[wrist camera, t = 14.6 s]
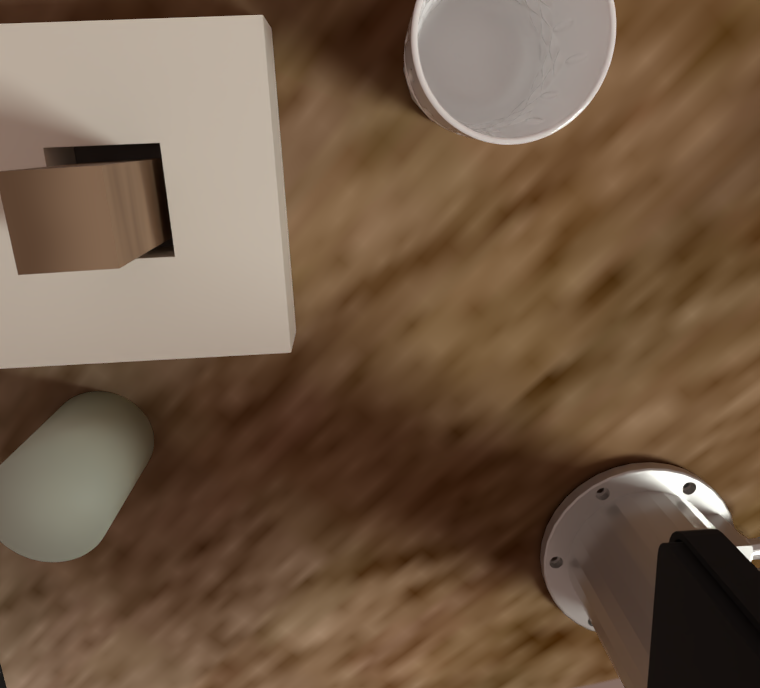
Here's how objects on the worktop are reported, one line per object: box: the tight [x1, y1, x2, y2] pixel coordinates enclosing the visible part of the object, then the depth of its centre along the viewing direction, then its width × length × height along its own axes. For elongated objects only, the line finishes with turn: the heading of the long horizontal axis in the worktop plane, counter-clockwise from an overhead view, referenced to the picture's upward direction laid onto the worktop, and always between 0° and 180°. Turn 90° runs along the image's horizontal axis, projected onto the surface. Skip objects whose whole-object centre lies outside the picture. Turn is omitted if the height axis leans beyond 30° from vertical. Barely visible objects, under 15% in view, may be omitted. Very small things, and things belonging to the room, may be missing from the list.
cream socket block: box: [0, 15, 296, 369], centre depth 34 cm, size 16×16×4 cm
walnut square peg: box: [0, 158, 172, 275], centre depth 31 cm, size 4×4×10 cm
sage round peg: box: [0, 391, 154, 562], centre depth 36 cm, size 6×6×8 cm
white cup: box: [403, 0, 616, 145], centre depth 30 cm, size 8×8×10 cm
